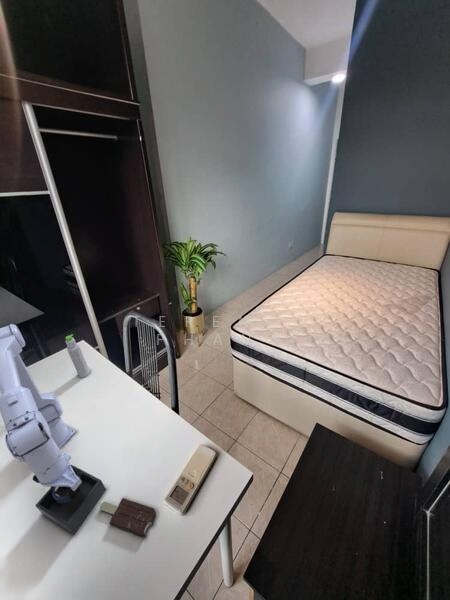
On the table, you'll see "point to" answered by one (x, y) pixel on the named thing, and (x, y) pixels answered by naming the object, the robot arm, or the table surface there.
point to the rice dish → (59, 498)
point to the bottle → (77, 357)
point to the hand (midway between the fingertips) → (67, 489)
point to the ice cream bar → (130, 516)
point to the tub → (73, 503)
